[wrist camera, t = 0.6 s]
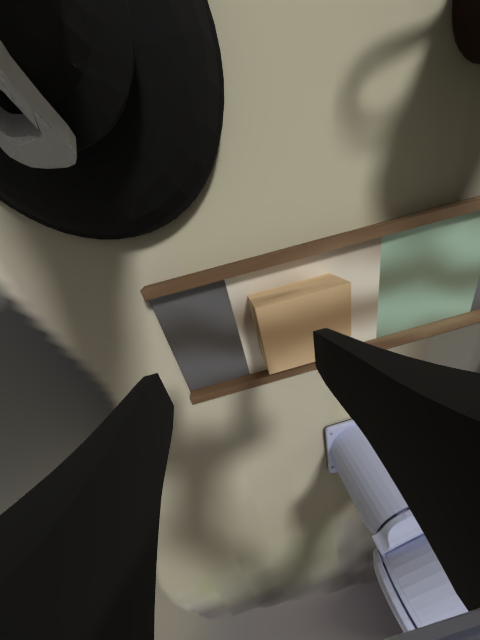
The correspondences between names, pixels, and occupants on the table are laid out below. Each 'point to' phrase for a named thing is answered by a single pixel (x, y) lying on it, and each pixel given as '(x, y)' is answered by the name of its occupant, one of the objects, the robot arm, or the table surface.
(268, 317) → the oak block
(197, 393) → the channel
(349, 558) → the table surface
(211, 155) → the sculpture
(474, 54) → the coffee mug
